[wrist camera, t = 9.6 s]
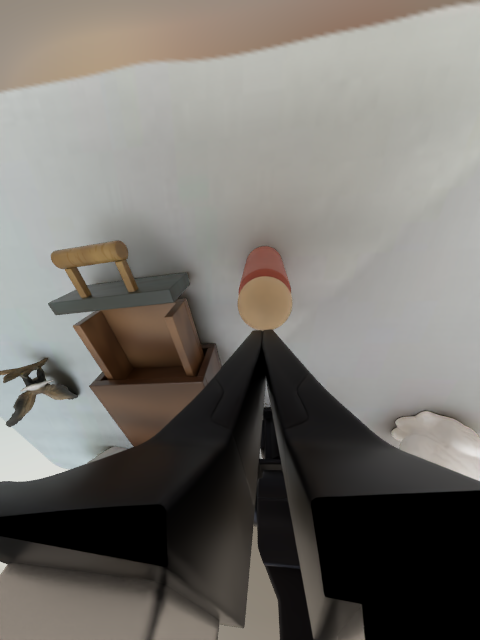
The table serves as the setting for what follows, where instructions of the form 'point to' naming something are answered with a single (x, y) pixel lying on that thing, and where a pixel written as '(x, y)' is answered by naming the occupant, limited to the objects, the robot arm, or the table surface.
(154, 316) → the drawer
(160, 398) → the cabinet
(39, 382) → the eagle figurine
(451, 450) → the rabbit
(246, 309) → the peg doll
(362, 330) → the table surface
